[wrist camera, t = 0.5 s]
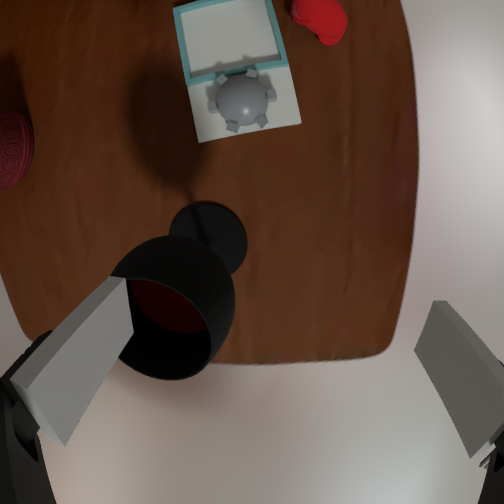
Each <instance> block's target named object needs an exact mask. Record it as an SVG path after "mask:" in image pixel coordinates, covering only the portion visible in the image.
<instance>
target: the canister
mask: <svg viewBox="0 0 504 504" xmlns="http://www.w3.org/2000/svg"><path fill="white" fill-rule="evenodd" d="M33 146H34V139H33V131H32V127H31V124H30V122H29V120H28V119H27V117H26V116H25V115H23V114H21V113H18V112H11V111H9V112H5V113H0V188H7V187H10V186H13V185H14V184H16V183H18V182H19V181H20V180H22V178H23V177H24V176H25V174H26V173H27V171H28V169H29V166H30V163H31V160H32V155H33Z"/></svg>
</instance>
